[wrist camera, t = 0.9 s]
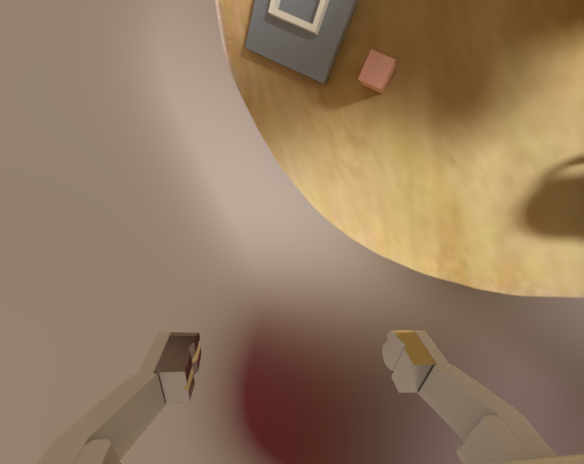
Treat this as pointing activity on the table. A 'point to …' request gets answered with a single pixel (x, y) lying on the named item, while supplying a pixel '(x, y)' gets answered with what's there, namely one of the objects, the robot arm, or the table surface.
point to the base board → (300, 33)
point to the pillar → (377, 71)
